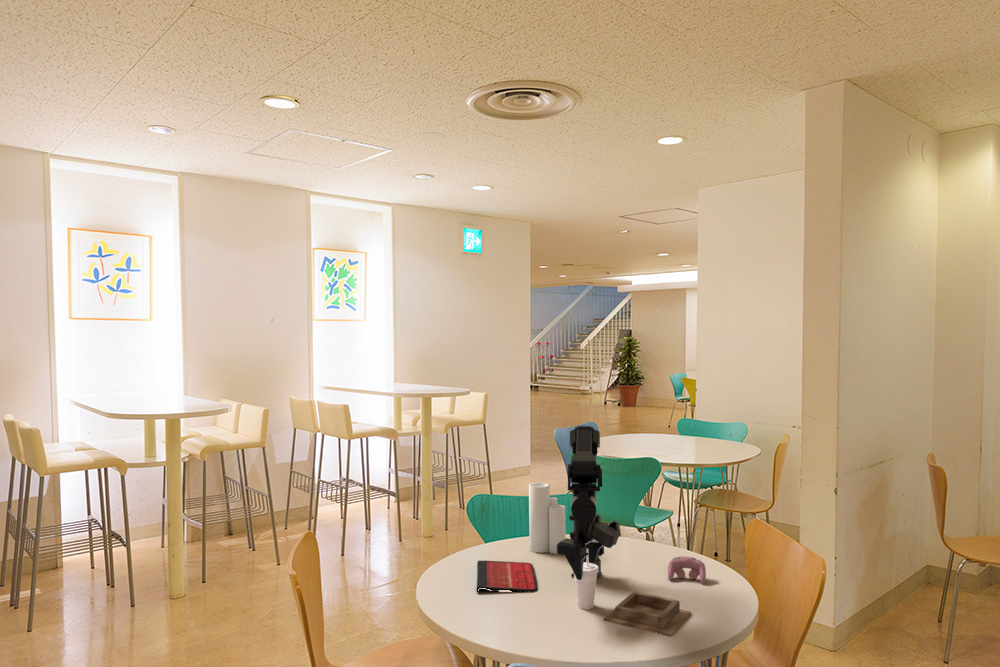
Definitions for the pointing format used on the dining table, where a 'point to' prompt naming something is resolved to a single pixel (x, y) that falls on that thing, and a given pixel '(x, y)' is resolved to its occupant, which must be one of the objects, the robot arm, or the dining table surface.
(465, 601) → the dining table surface
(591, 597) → the smoothie
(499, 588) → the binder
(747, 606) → the dining table surface
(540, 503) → the vase
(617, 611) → the brown shallow square tray
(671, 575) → the video game controller
